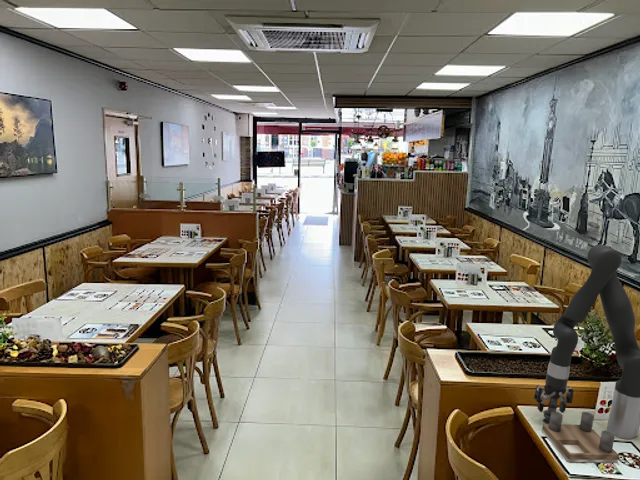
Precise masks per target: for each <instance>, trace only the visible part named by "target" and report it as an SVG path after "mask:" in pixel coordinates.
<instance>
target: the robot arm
mask: <svg viewBox="0 0 640 480" xmlns="http://www.w3.org/2000/svg"><path fill="white" fill-rule="evenodd" d="M586 256H587V263H588V265H589V267H590V269H591V272H590V274H589V275H588V278H587V279H586V281H585V282H584V283H583V284H582V286H581V287H580V288H579V289H578V290H577V291H576V292H575V293H574V295H573V296H572V298H571V300H570V301H569V304H568V305H567V307H566V309H565V311H564V312H563V313H562V315H561V316H560V317H559V318H558V319H557V320H556V322H555V323H554V325H553V328H552V334H553V336H554V337H555V338H556V339H557V344H556V346H554V347H553V348H552V349H551V353H550V359H549V362H548V365H547V371H546V377H545V381H544V382H545V385H544V386H540V385H539V384H538V385H536V388H535V392H534V396H533V399H534V400H535V402H537V410H538V411H539V413H543V411H544V407H545V402H547V401H548V402H549V401H550V398H551V399H554V398H556V399H558V400H559V399H560V403H559V409H558V411H559V413H561V414H564V412H565V411H566V409H567V405H568V404H572V403H573V399H574V392H575V391H574V389H573V388H572V387H571V386H570V385H569V386H568V382H569V377H570V370H571V369H570V368H571V362H572V356H573V354H574V353H575V349H576V348H577V345H578V341H579V335H578V332H577V331H576V330H575V327H576V326H577V325H578V324H582V323H583V322H584V321H585V320H586V318H587V317H588V314H589V312H590V311H591V308H592V307H593V304H594V303H595V301H596V299H597V298H598V296H599V297H600V301H601V305H602V309H603V313H604V316H605V319H606V322H607V325H608V328H609V331H610V333H611V335H612V338H613V342H614V347H615V353H616V354H615V355H616V360H617V364H618V366H619V368H621V369H622V373H621V377H620V379H618V380H617V381H615V385H614V389H613V390H614V391H613V396H612V400H611V406H610V410H609V416H608V421H607V425H606V430H607V431H609V432H611V433H613V434H614V435H615V437H618V438H620V439H626V440H632V439H634V438H636V437H638V435H639V431H640V430H639V429H640V347H639V344H638V341H637V337H636V336H635V329H636V328H635V327H636V319H635V317H636V316H635V313H634V308H633V306H632V302H631V300H630V298H629V295H628V293H627V291H626V290H625V288H624V287H623V285H622V283H621V281H620V280H619V277H618V274H617V270H618V269H619V268H620V267H621V264H622V256H621V254H620V252H619V251H618V250H616V249H615V248H613V247H610V246H608V245H605V244H595V245H593V246H592V247H590V249H589V251H588V252H587V255H586ZM565 393H566V394H565ZM564 394H565V396H564Z"/></svg>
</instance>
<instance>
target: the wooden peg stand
mask: <svg viewBox="0 0 640 480" xmlns="http://www.w3.org/2000/svg"><path fill="white" fill-rule="evenodd" d="M563 417H564V415H563V413H561V412H560V411H559V412H558V411H556V412H555V411H553V412H551V417H550V423H549V424H545V423H543V424H542V426H541V432H542V434H544V436H545V437H546V438H547V439H548V440H549V442H550V443H551V444H552V446H553V447H554V448H555V449H556V450H557V452H559V453H561V454H560V455H561V456H562V457H563V458H564V459H565V461H566V462H567V463H615V464H616V463H618V461H619V458H620V457H619V455H620V454H618V452H617V451H616V450H614V449H613V446H614V442H615V437H616V436H615V435H614V434H613V433H611V432H609V431H608V430H602V431H601V434H600V435H599V434H598V433H597V432H596V430H594V429H593V423H594V420H595V419H594V418H595V415H594V414H592V413H590V412H589V411H588V412H587V411H582V413H581V417H580V421H579V424H569V423H568V424H567V423H566V424H563Z"/></svg>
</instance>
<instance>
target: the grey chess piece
mask: <svg viewBox="0 0 640 480" xmlns="http://www.w3.org/2000/svg"><path fill="white" fill-rule="evenodd" d="M558 403H559V399H556V398H554V399H551V398H550V399H549V400H548V403H547V405H548V407H547V409H546V410H543V412H542V413H543V417H544V418H543V419H542V422H543V424H549V423H550V417H551V412H553V411H555V412H557V409H558Z"/></svg>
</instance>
